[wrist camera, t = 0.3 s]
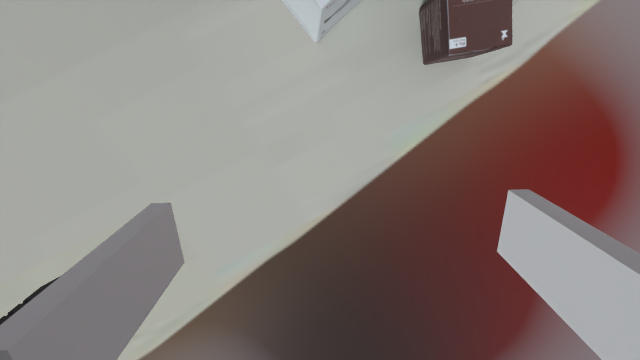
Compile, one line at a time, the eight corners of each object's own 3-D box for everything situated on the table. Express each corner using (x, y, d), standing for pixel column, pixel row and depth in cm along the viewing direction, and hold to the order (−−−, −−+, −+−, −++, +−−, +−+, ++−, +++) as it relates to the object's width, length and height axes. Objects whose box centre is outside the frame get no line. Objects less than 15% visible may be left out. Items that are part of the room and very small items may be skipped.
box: (471, 0, 34) (514, -28, 27) (473, 57, 35) (514, 45, 28) (417, 9, 34) (445, -17, 27) (421, 65, 35) (449, 55, 28)
